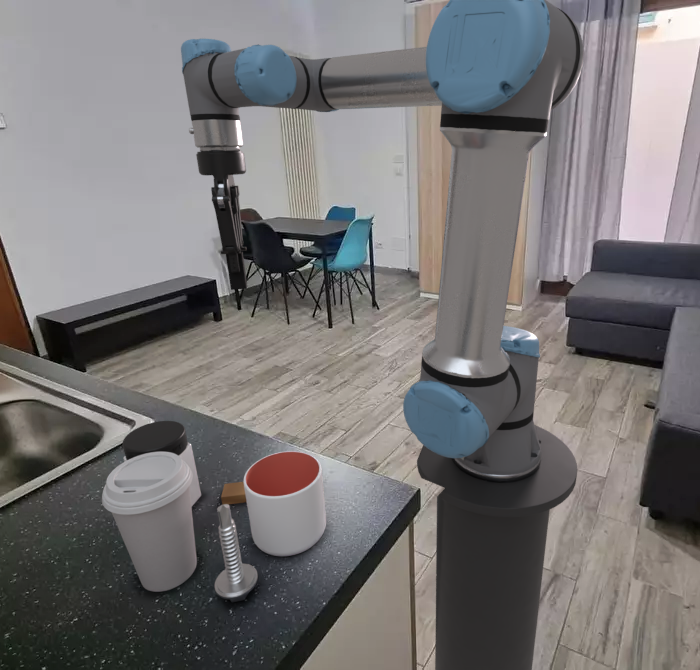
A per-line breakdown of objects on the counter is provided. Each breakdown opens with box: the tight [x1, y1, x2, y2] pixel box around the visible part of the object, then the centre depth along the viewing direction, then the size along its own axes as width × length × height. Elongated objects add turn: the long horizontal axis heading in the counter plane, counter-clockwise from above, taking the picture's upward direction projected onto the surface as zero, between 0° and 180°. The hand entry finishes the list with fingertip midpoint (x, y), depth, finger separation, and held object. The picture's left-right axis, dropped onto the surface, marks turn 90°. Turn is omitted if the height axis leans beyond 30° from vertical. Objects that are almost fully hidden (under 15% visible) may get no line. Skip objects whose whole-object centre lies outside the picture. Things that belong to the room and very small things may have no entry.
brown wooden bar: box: [220, 481, 247, 505], centre depth 75 cm, size 13×3×2 cm, turn 100°
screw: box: [214, 504, 259, 603], centre depth 56 cm, size 13×5×5 cm
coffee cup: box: [101, 452, 198, 593], centre depth 59 cm, size 10×10×15 cm
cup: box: [243, 450, 327, 557], centre depth 65 cm, size 10×10×10 cm
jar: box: [122, 420, 202, 508], centre depth 71 cm, size 9×8×12 cm
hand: (239, 288), depth 88 cm, fingers closed
